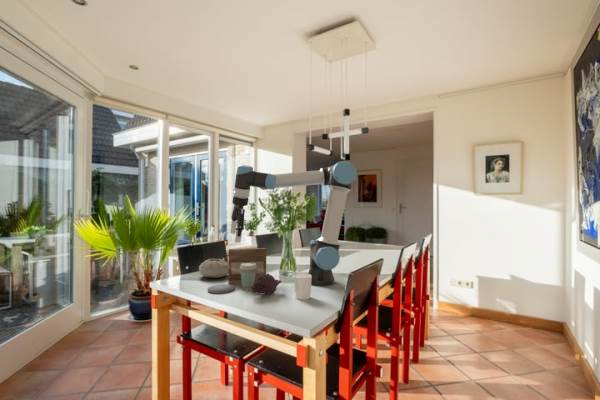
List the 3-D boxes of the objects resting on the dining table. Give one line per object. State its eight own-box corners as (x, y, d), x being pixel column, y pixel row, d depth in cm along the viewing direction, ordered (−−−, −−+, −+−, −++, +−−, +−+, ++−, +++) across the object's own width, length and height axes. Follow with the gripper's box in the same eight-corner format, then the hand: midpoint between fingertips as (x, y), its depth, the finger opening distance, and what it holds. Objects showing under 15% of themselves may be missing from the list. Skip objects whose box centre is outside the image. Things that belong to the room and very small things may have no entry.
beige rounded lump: (233, 273, 182) (233, 256, 182) (226, 281, 164) (227, 262, 164) (204, 273, 182) (204, 256, 182) (194, 280, 164) (194, 262, 164)
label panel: (228, 281, 163) (228, 248, 163) (265, 279, 167) (265, 247, 167) (228, 284, 157) (228, 250, 157) (266, 282, 161) (266, 249, 161)
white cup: (294, 294, 140) (294, 273, 140) (311, 295, 140) (311, 273, 140) (293, 300, 132) (294, 277, 133) (311, 300, 132) (311, 278, 132)
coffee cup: (253, 290, 146) (253, 266, 146) (236, 289, 148) (237, 265, 148) (259, 286, 154) (259, 262, 155) (243, 285, 156) (243, 262, 156)
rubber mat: (239, 290, 147) (239, 288, 147) (215, 295, 138) (215, 293, 138) (226, 284, 156) (226, 282, 156) (202, 289, 148) (202, 287, 148)
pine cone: (258, 302, 129) (258, 279, 129) (243, 297, 136) (243, 275, 136) (285, 292, 143) (286, 272, 143) (271, 289, 149) (271, 269, 149)
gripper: (229, 190, 157) (224, 229, 161) (238, 201, 134) (231, 246, 138) (243, 192, 160) (237, 229, 164) (254, 203, 137) (247, 246, 141)
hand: (235, 237), depth 151 cm, fingers open, 13 cm apart
